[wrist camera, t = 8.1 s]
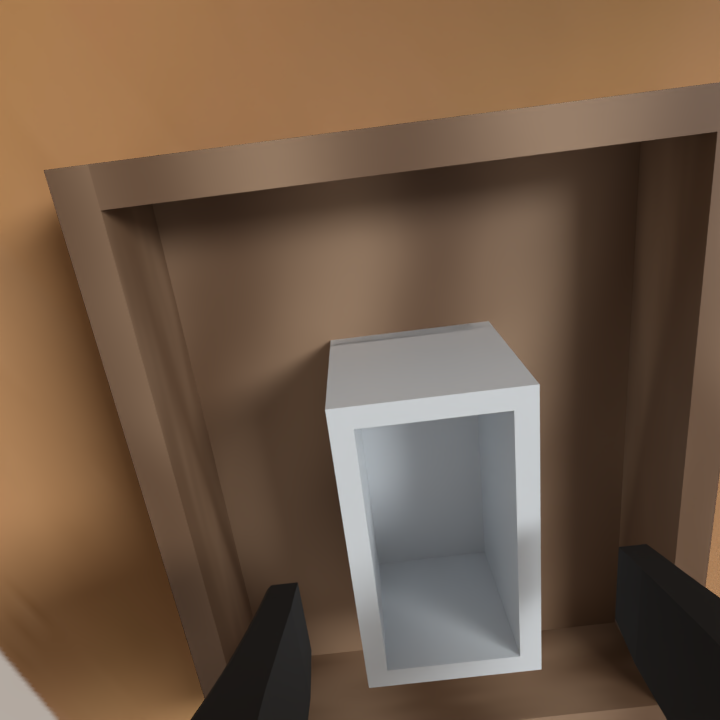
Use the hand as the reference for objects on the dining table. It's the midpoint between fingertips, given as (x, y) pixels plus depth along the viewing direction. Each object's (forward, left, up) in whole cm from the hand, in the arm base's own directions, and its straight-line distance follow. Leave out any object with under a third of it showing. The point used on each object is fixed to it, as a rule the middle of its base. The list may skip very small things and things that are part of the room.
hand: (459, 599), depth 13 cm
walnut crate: (0, 0, -8) cm, 8 cm away
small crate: (0, 0, -7) cm, 7 cm away
